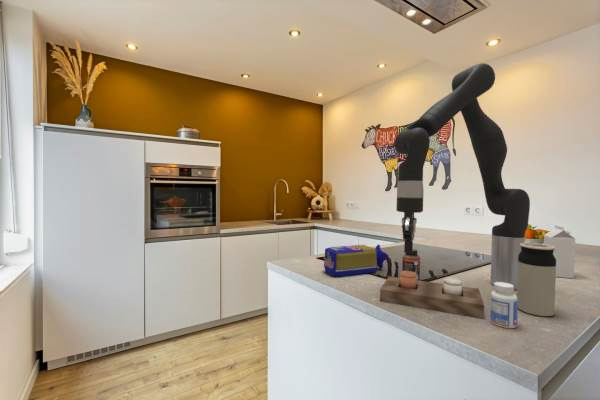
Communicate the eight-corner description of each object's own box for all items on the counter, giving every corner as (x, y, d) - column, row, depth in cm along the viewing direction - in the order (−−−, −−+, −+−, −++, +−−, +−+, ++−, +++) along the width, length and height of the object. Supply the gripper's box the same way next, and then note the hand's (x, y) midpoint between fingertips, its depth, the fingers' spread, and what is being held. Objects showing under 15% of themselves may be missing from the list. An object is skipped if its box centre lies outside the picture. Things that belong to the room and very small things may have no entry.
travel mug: (543, 319, 74) (545, 249, 73) (510, 307, 81) (512, 243, 81) (560, 314, 77) (563, 246, 77) (527, 303, 84) (529, 241, 84)
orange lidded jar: (416, 287, 90) (417, 271, 90) (415, 292, 86) (415, 275, 86) (401, 285, 92) (401, 269, 92) (399, 289, 88) (399, 273, 88)
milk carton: (550, 276, 111) (551, 227, 110) (542, 271, 117) (544, 224, 117) (574, 279, 108) (575, 228, 107) (565, 273, 115) (566, 225, 114)
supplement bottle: (421, 283, 102) (421, 251, 102) (403, 282, 103) (403, 250, 103) (417, 278, 108) (418, 248, 108) (401, 277, 109) (401, 247, 109)
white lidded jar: (461, 295, 85) (461, 278, 84) (461, 300, 81) (462, 283, 80) (443, 292, 87) (443, 276, 87) (443, 297, 83) (443, 280, 82)
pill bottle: (506, 318, 74) (507, 280, 74) (522, 328, 69) (524, 288, 69) (485, 318, 74) (486, 280, 74) (500, 328, 69) (501, 288, 69)
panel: (478, 300, 87) (478, 288, 87) (483, 318, 74) (484, 305, 74) (388, 286, 98) (388, 276, 98) (380, 300, 86) (380, 289, 86)
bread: (321, 271, 117) (321, 246, 116) (373, 266, 126) (373, 242, 126) (333, 278, 107) (333, 251, 107) (388, 272, 116) (388, 246, 116)
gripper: (421, 196, 80) (419, 259, 81) (424, 196, 92) (423, 250, 93) (393, 196, 84) (391, 256, 84) (399, 195, 96) (398, 248, 96)
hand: (408, 253), depth 89 cm, fingers closed
